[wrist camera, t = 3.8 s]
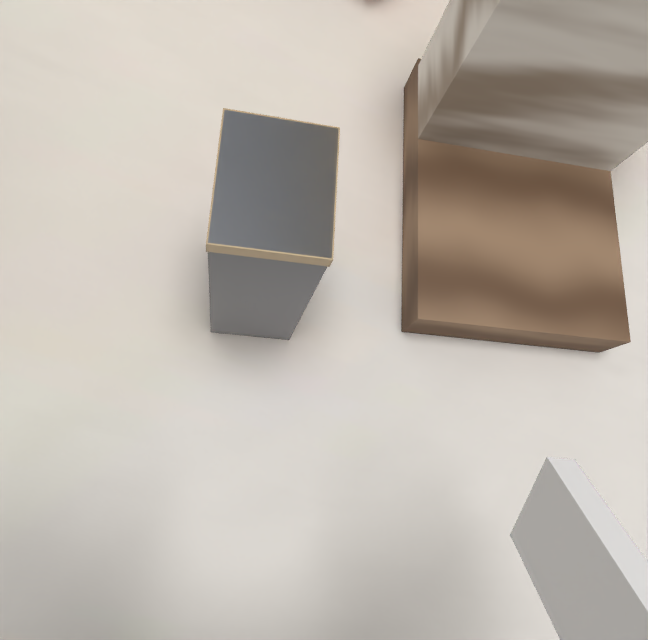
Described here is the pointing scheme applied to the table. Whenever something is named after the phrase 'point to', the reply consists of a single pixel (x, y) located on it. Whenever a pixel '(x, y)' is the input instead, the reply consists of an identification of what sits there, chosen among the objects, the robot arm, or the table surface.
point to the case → (269, 221)
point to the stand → (522, 171)
